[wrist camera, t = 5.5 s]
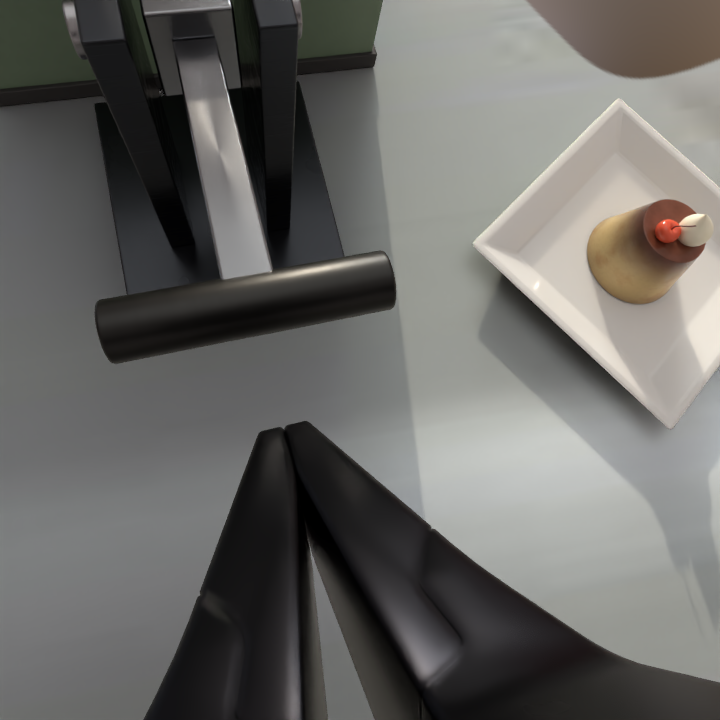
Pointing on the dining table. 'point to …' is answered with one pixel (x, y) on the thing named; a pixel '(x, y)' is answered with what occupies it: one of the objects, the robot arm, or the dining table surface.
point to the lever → (228, 216)
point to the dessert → (623, 258)
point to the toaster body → (76, 78)
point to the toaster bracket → (176, 152)
